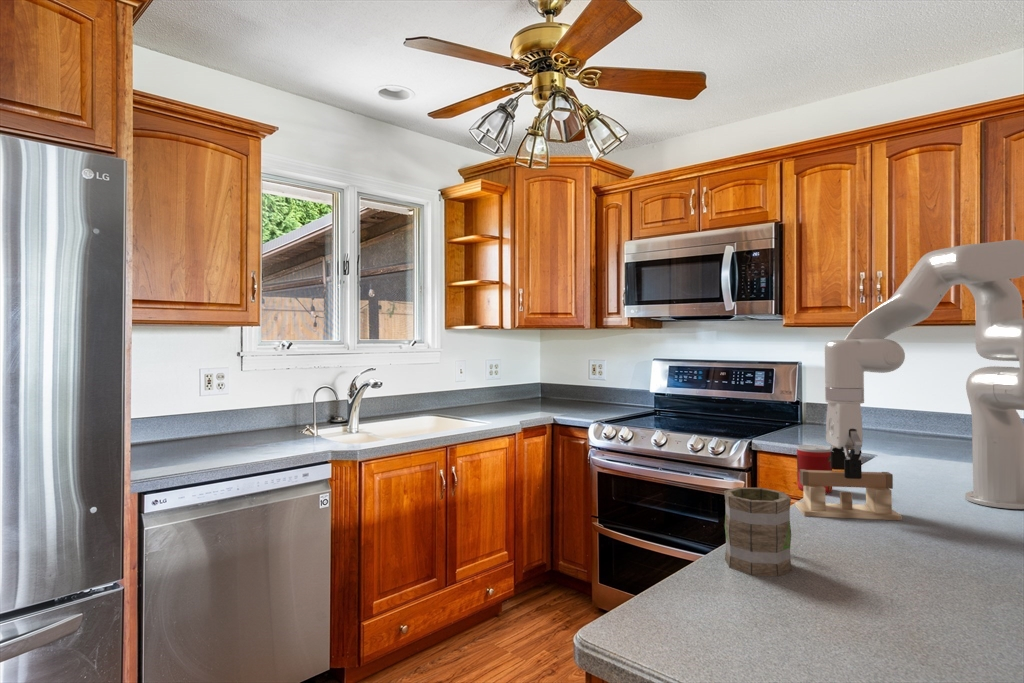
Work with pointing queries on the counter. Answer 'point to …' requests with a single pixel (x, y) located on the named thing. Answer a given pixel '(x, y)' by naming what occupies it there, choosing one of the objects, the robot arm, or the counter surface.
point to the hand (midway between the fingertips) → (845, 473)
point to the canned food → (813, 461)
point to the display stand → (848, 504)
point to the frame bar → (845, 479)
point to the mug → (758, 531)
